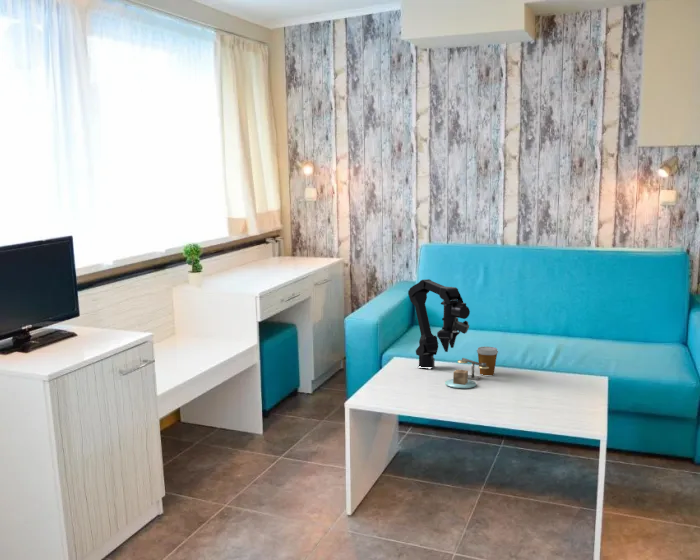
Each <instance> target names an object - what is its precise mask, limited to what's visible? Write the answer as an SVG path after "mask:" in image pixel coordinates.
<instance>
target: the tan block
mask: <svg viewBox="0 0 700 560" xmlns="http://www.w3.org/2000/svg"><path fill="white" fill-rule="evenodd" d="M452 375H453V376H452V379H453V384H461V385H465V384H466V383H467V382H468V380H469V379H468V375H469V370H466V369H465V370H463V369H455V370H454V371H453V374H452Z"/></svg>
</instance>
